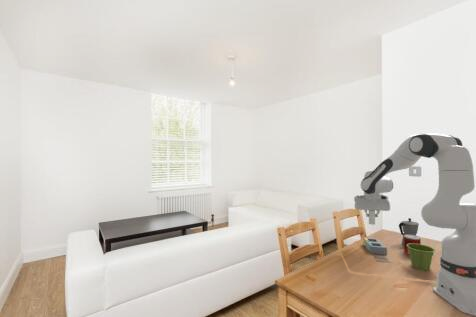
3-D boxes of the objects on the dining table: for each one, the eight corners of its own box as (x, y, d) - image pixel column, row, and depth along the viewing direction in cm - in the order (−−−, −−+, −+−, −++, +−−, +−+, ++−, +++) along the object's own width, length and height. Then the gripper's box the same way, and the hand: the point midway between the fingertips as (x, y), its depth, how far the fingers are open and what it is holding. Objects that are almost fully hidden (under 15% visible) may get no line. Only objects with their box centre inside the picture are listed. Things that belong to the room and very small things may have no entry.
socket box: (386, 256, 136) (386, 247, 136) (369, 254, 138) (369, 245, 138) (378, 246, 151) (377, 238, 152) (362, 245, 154) (362, 237, 154)
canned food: (424, 257, 134) (423, 238, 134) (410, 257, 134) (410, 238, 134) (414, 252, 142) (414, 234, 142) (401, 252, 142) (401, 234, 142)
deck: (390, 264, 125) (390, 262, 125) (376, 263, 127) (376, 261, 127) (384, 257, 135) (384, 255, 135) (371, 255, 136) (371, 254, 136)
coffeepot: (411, 241, 159) (410, 216, 159) (425, 246, 150) (424, 219, 150) (393, 243, 156) (392, 217, 156) (406, 248, 147) (405, 221, 147)
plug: (375, 224, 147) (375, 209, 147) (369, 224, 148) (369, 209, 148) (374, 223, 150) (374, 208, 150) (368, 222, 151) (367, 207, 151)
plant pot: (441, 275, 114) (440, 252, 114) (414, 273, 116) (414, 250, 116) (426, 264, 125) (426, 243, 125) (402, 262, 127) (402, 242, 128)
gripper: (355, 196, 149) (355, 217, 149) (391, 197, 143) (391, 219, 143) (353, 194, 155) (353, 214, 155) (387, 195, 149) (387, 216, 149)
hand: (371, 216), depth 149 cm, fingers closed on plug, 4 cm apart
